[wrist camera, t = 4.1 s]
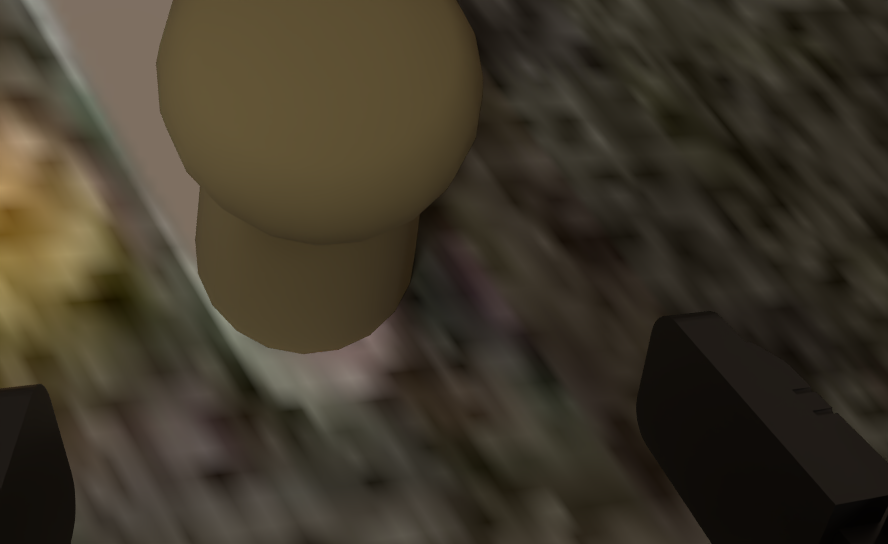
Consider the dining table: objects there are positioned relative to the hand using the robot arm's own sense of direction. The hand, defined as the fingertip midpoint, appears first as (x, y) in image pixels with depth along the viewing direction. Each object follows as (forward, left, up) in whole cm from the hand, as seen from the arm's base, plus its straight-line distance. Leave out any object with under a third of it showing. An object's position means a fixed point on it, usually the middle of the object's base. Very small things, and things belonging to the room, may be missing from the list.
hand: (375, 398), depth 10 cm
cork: (-3, -4, -11) cm, 12 cm away
